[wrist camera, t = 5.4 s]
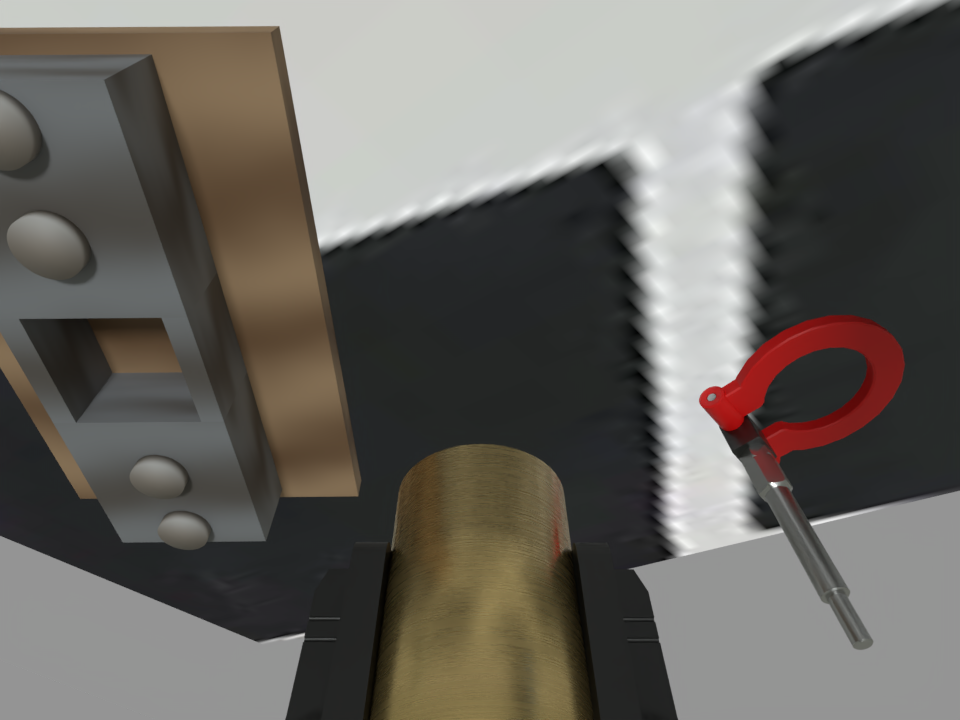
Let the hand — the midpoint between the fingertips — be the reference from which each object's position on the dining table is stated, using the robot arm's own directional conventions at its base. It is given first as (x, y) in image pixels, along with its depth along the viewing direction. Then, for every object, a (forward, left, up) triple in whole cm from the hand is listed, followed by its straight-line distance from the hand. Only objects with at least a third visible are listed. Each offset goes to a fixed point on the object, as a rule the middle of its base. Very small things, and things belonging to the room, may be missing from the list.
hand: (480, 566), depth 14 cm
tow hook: (+9, +17, -17) cm, 26 cm away
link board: (+4, -15, -17) cm, 23 cm away
